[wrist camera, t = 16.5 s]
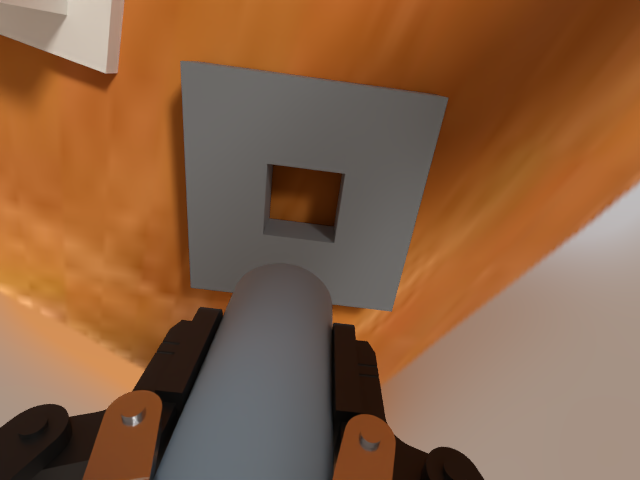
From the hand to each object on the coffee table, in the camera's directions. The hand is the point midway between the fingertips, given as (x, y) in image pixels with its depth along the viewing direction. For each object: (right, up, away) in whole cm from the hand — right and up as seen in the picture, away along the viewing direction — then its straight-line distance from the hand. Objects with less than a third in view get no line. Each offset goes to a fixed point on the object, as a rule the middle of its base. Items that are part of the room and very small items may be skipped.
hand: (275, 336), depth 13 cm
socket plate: (0, +7, +15) cm, 16 cm away
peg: (0, +1, +2) cm, 2 cm away
